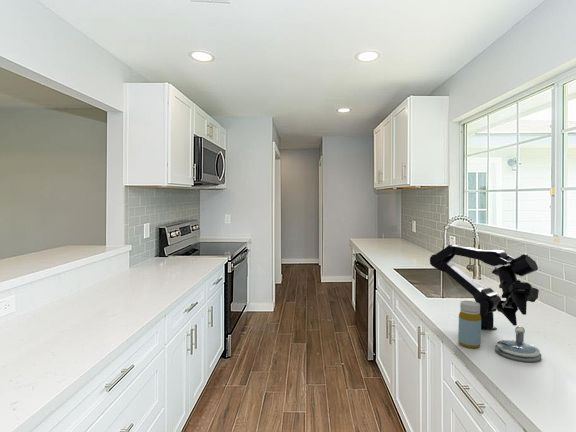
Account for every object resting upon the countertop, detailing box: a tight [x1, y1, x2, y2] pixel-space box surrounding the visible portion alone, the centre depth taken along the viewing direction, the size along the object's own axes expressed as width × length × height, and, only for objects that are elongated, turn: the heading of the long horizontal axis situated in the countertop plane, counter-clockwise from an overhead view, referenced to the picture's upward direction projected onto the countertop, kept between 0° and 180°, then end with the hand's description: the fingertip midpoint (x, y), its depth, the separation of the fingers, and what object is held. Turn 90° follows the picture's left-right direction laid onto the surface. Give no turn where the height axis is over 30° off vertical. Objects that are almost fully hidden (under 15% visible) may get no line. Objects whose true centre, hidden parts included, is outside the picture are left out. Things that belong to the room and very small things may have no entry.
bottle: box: [457, 300, 482, 350], centre depth 127 cm, size 7×7×15 cm
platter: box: [496, 339, 541, 358], centre depth 120 cm, size 12×12×1 cm
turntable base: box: [494, 325, 542, 364], centre depth 120 cm, size 13×13×7 cm
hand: (519, 320), depth 126 cm, fingers open, 9 cm apart
